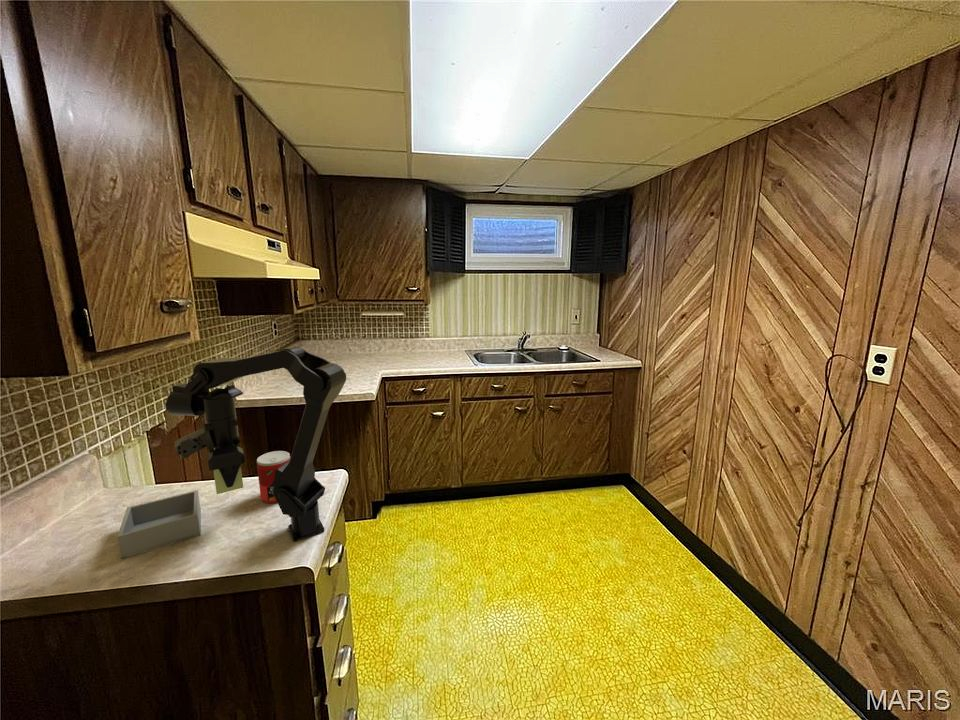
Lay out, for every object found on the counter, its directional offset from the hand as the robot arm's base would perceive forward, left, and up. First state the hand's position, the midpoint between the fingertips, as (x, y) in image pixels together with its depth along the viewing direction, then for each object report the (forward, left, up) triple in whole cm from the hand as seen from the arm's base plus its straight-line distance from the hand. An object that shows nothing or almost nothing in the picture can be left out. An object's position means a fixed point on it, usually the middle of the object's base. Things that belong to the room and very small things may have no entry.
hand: (229, 481), depth 87 cm
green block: (0, 0, -1) cm, 1 cm away
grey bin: (+6, +13, -10) cm, 18 cm away
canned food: (+8, -10, -11) cm, 17 cm away
